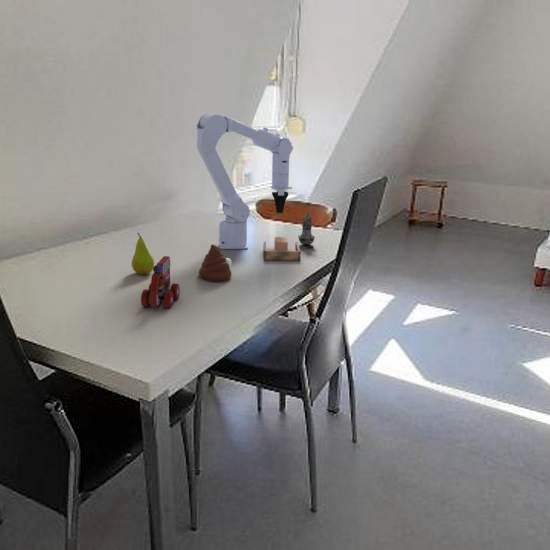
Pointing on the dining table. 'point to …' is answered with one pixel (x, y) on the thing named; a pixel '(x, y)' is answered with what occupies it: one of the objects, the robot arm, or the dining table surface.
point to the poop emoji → (215, 266)
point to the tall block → (281, 244)
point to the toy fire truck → (161, 286)
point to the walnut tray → (282, 254)
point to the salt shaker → (306, 234)
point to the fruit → (142, 258)
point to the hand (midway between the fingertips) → (279, 212)
